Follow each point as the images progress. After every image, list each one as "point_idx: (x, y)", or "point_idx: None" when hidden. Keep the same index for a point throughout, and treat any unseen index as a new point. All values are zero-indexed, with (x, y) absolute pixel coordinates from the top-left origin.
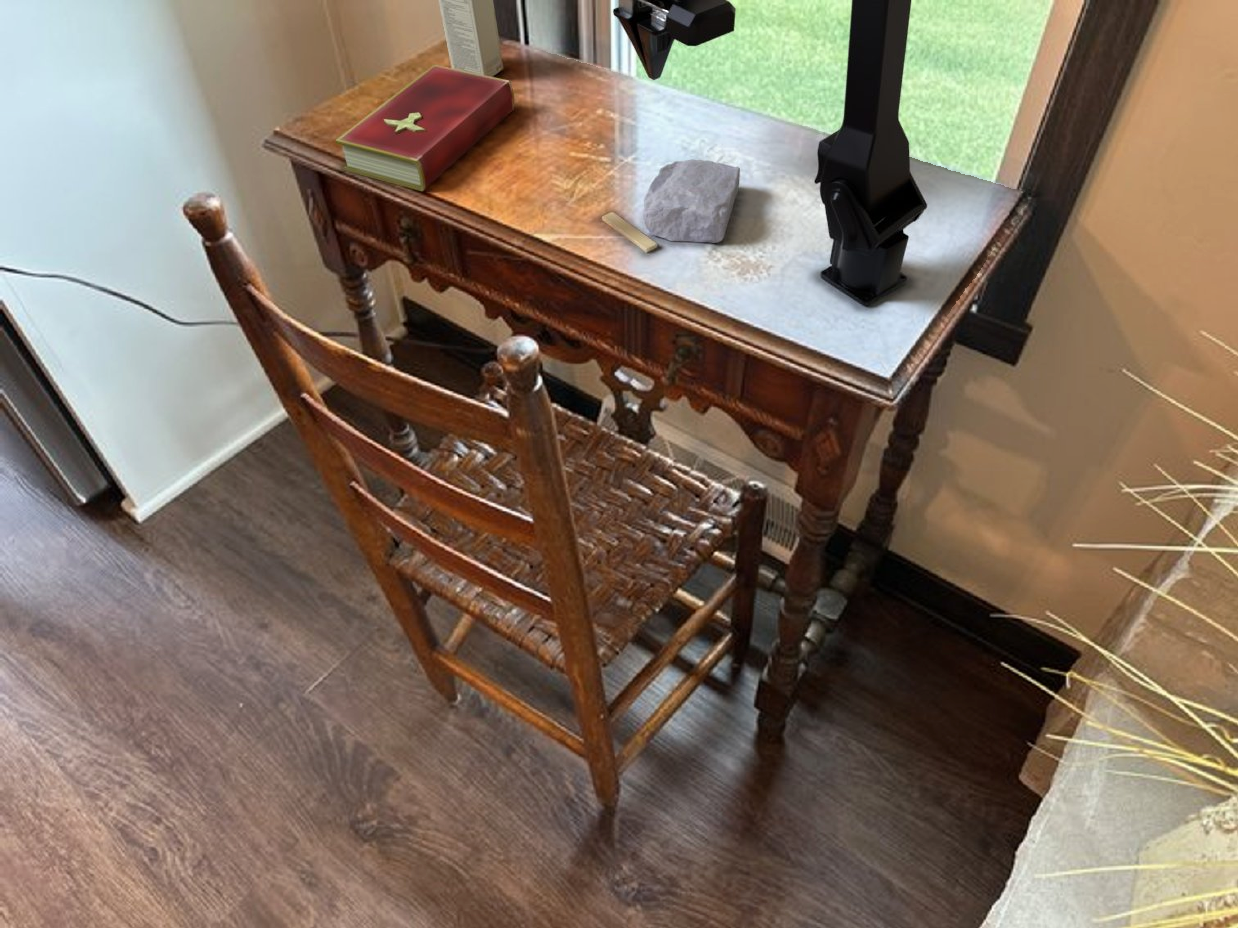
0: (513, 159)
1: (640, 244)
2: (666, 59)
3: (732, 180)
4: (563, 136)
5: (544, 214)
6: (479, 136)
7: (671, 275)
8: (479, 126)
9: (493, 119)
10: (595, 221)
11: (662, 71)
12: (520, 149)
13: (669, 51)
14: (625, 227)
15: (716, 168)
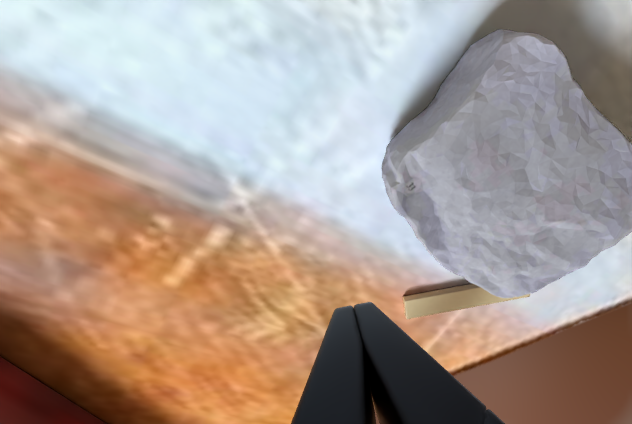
0: (149, 367)
1: (513, 299)
2: (433, 360)
3: (571, 91)
4: (91, 271)
5: None
6: (59, 403)
7: (595, 283)
8: (45, 419)
9: (7, 382)
10: (399, 322)
11: (382, 313)
12: (117, 349)
13: (473, 397)
14: (458, 301)
15: (512, 105)
